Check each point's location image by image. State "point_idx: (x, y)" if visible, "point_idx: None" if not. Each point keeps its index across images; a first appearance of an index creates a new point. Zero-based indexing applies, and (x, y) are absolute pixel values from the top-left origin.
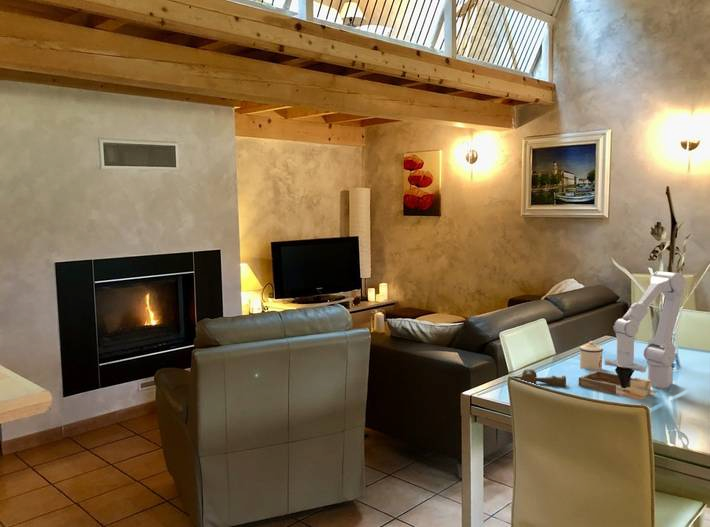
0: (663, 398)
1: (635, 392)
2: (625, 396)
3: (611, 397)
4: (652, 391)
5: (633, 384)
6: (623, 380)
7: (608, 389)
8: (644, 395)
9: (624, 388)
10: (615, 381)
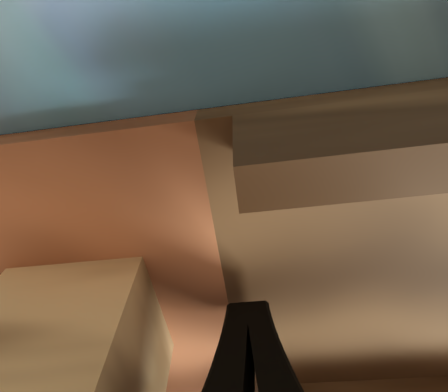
0: None
1: (79, 278)
2: (83, 133)
3: (234, 38)
4: None
5: (61, 360)
6: (235, 389)
7: (334, 116)
8: (1, 281)
9: None
10: (404, 390)
